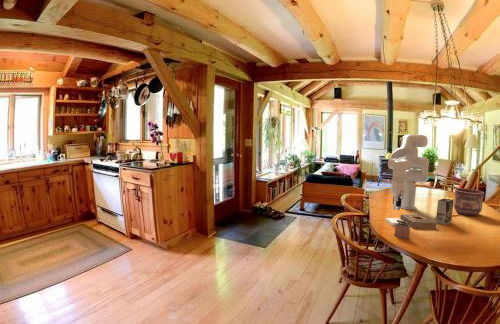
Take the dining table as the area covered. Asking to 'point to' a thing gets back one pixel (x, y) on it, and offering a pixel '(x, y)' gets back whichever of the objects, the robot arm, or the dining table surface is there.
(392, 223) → the white square base plate
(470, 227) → the dining table surface
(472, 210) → the pottery
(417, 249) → the dining table surface
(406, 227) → the lighter
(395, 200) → the peg
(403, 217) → the plate
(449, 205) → the coffee box
